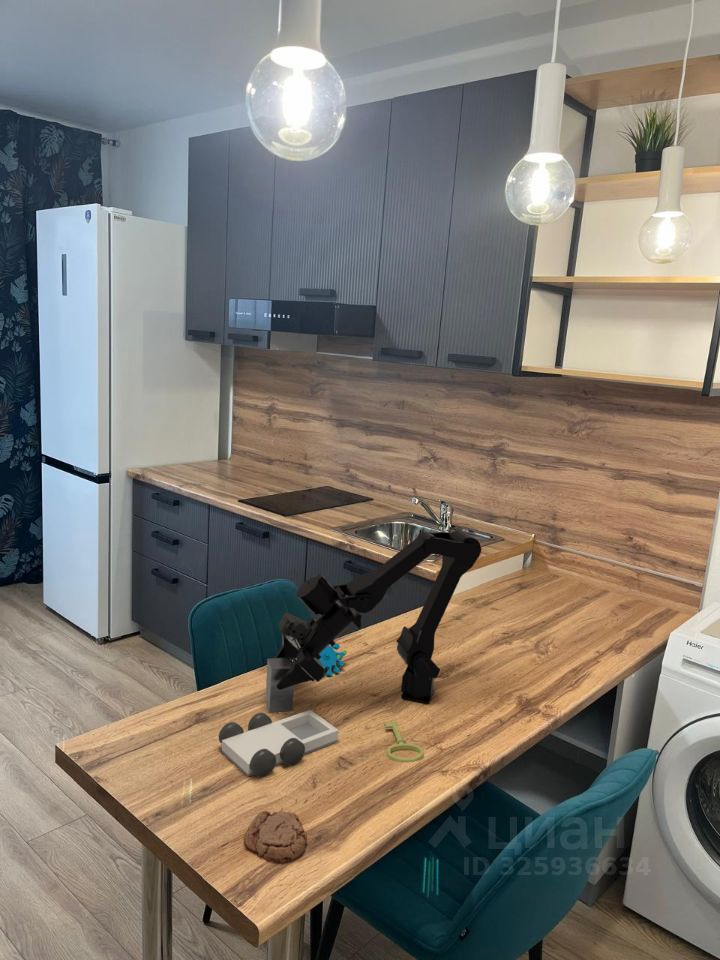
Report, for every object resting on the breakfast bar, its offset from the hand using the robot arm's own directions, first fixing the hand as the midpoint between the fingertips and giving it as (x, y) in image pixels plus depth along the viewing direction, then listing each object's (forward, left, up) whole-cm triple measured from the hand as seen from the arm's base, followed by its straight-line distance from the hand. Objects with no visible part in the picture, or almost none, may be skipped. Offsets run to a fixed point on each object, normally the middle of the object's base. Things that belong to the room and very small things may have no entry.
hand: (273, 678), depth 154 cm
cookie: (-17, +38, -7) cm, 42 cm away
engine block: (-1, -1, -7) cm, 7 cm away
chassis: (-8, +13, -7) cm, 17 cm away
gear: (-5, -21, -7) cm, 23 cm away
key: (-29, +4, -7) cm, 30 cm away
